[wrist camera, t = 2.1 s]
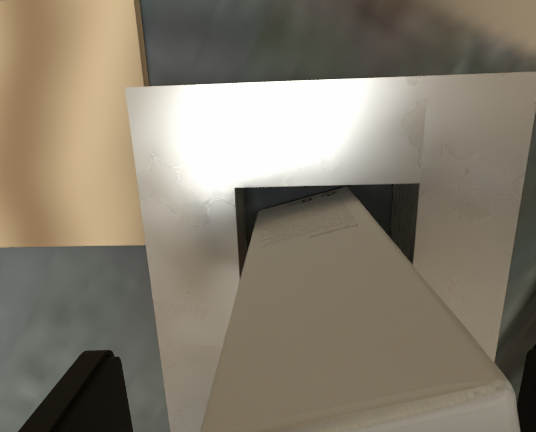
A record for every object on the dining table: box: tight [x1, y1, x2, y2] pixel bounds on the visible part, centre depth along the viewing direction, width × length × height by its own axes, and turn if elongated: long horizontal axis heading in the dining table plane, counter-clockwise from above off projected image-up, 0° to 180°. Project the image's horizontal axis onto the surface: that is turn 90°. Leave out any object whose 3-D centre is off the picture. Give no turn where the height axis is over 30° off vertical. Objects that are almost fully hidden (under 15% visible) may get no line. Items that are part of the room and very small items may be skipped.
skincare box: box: [200, 187, 520, 432], centre depth 11 cm, size 6×4×12 cm
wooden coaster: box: [0, 0, 149, 247], centre depth 15 cm, size 10×10×1 cm
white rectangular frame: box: [125, 72, 536, 432], centre depth 15 cm, size 14×15×3 cm
